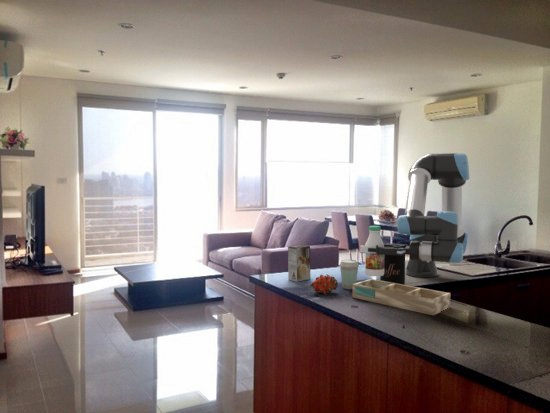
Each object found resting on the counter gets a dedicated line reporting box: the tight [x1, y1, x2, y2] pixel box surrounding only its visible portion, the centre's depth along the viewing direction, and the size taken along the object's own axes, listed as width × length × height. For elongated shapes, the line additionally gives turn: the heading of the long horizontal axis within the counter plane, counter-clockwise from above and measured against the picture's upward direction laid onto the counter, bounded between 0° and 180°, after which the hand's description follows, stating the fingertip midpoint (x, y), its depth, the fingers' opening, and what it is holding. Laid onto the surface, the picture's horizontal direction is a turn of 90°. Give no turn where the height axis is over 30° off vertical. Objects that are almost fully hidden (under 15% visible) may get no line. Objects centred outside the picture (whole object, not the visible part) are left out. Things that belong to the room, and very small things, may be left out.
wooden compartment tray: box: [351, 278, 451, 316], centre depth 187 cm, size 14×35×6 cm, turn 45°
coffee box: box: [287, 244, 311, 282], centre depth 228 cm, size 9×6×16 cm
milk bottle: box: [364, 225, 384, 277], centre depth 193 cm, size 8×8×20 cm
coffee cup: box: [339, 258, 360, 290], centre depth 211 cm, size 8×9×12 cm
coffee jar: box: [379, 254, 406, 285], centre depth 210 cm, size 11×11×18 cm
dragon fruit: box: [310, 274, 339, 295], centre depth 202 cm, size 8×8×12 cm
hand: (363, 247), depth 195 cm, fingers closed on milk bottle, 7 cm apart
